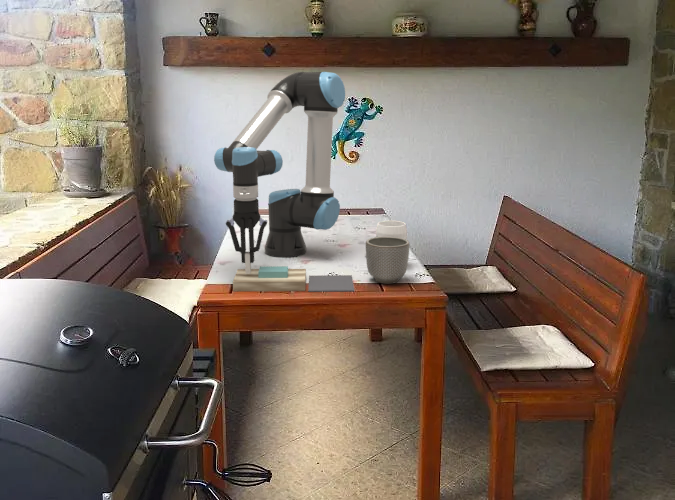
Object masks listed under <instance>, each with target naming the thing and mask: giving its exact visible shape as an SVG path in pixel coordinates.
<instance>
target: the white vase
mask: <svg viewBox="0 0 675 500" xmlns="http://www.w3.org/2000/svg"><path fill="white" fill-rule="evenodd" d="M376 224H377V225H376V228H375V237H398V238H403V239H406V240H408V239H407V238H408V229H407V224H406V223H405V222H404V221H399V220H383V221H382V220H381V221H378V222H377V223H376Z"/></svg>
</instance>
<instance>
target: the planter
mask: <svg viewBox="0 0 675 500" xmlns="http://www.w3.org/2000/svg"><path fill="white" fill-rule="evenodd" d="M409 257H410V241H409V240H408V239H403V238H398V237H376V236H375V237H370V238H368V239H366V241H365V260H366V267H367V272H368V274H369V275H370V276H371V277H372V278H373V279H375V281H376V282H377V283H379V284H385V285H386V284H387V285H388V284H389V285H390V284H396V283H397V282H398V281H399V279H401V278H403V277H404V276H405V274H406V273H407V269H408V266H409V265H408V264H409V263H408V262H409Z"/></svg>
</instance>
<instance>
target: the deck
mask: <svg viewBox="0 0 675 500" xmlns="http://www.w3.org/2000/svg"><path fill="white" fill-rule="evenodd" d="M258 271H259V268H251V273H250V274H246V272H245V268H238V269H237V270H236V272H235V275H234V278H233V280H232V291H233V292H305V291H306V284H307V283H306V282H307V281H306V280H307V279H306V278H307V272H306V271H307V268H288V278H259V277H258Z"/></svg>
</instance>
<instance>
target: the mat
mask: <svg viewBox="0 0 675 500" xmlns="http://www.w3.org/2000/svg"><path fill="white" fill-rule="evenodd" d="M307 291H308V292H309V293H319V292H320V293H323V292H324V293H325V292H329V293H331V292H333V293H334V292H335V293H337V292H339V293H340V292H349V293H350V292H355V287H354V280H353V276H352V274H351V275H349V274H348V275H347V274H346V275H343V274H342V275H341V274H339V275H338V274H337V275H329V274H326V275H325V274H324V275H323V274H322V275H309V276H308V290H307Z"/></svg>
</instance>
